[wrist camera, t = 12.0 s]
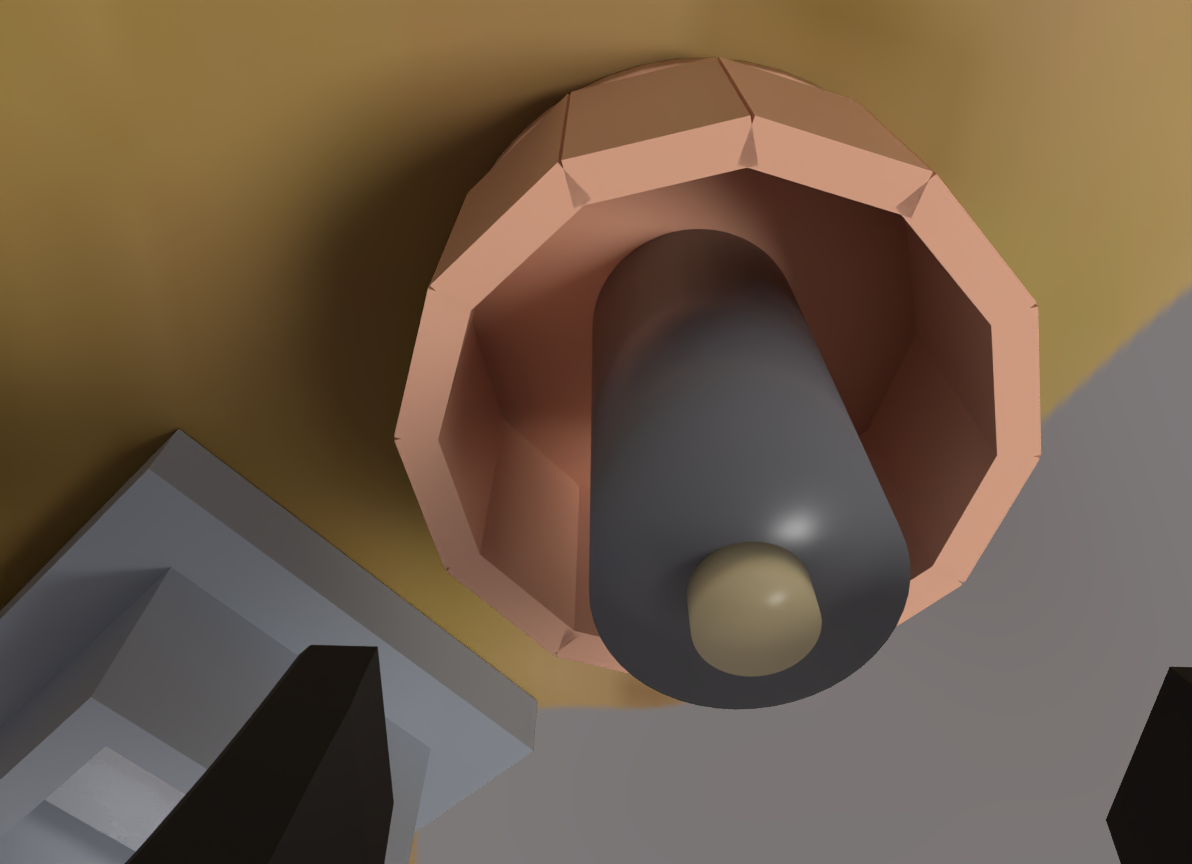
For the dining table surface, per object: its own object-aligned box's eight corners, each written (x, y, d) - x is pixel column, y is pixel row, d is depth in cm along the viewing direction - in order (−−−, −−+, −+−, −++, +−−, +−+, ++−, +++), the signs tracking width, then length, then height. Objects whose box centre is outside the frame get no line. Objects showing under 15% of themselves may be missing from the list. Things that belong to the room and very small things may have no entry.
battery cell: (685, 450, 19) (736, 791, 12) (550, 325, 18) (518, 624, 11) (837, 328, 18) (992, 631, 11) (703, 184, 16) (780, 420, 9)
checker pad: (225, 855, 23) (210, 894, 22) (58, 756, 21) (34, 794, 21) (348, 763, 21) (337, 801, 21) (177, 649, 20) (158, 686, 19)
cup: (668, 578, 21) (685, 759, 17) (351, 300, 18) (274, 435, 14) (1027, 319, 18) (1158, 459, 14) (721, -68, 15) (768, -42, 11)
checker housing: (273, 888, 27) (209, 1088, 22) (-74, 685, 23) (-230, 876, 19) (537, 701, 23) (522, 893, 19) (178, 428, 20) (58, 588, 15)
